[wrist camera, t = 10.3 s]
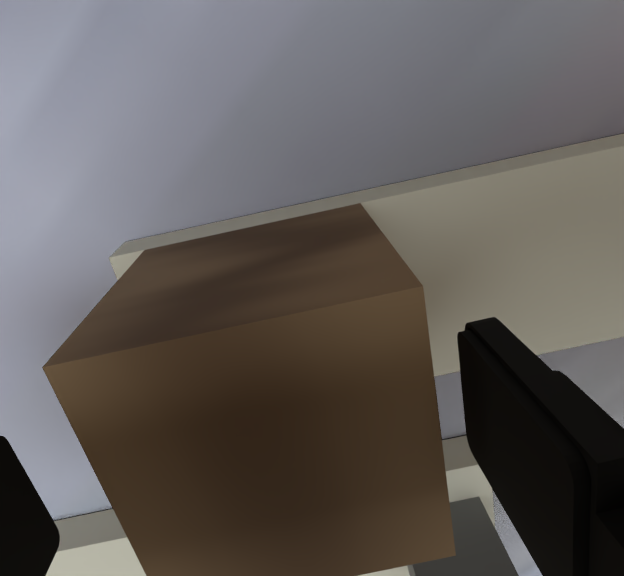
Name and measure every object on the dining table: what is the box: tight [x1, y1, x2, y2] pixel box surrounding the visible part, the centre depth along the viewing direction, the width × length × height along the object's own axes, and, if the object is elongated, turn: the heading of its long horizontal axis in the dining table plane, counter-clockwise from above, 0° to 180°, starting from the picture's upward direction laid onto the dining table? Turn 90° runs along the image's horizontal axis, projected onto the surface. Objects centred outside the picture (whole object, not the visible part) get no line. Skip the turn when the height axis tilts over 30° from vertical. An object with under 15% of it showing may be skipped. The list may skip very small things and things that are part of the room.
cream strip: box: [109, 134, 624, 377], centre depth 12 cm, size 20×6×8 cm, turn 102°
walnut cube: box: [42, 203, 456, 576], centre depth 11 cm, size 6×6×6 cm
